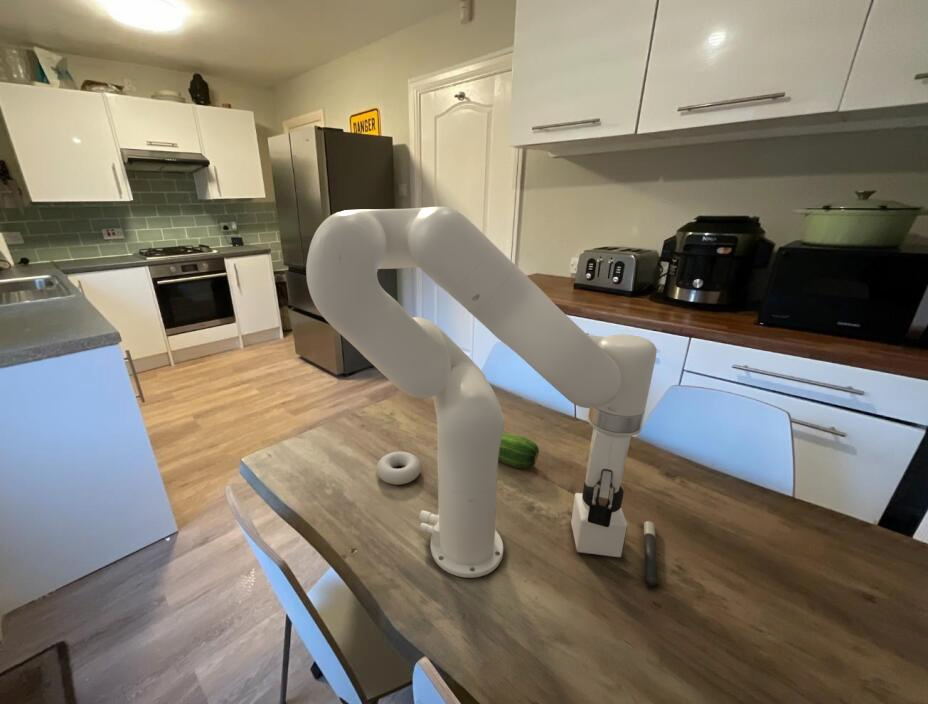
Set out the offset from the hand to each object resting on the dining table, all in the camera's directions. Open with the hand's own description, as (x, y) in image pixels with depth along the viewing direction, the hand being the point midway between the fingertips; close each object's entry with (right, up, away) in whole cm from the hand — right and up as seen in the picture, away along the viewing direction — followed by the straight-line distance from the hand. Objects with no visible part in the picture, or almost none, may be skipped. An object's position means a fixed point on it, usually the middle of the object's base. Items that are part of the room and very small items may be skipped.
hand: (600, 504), depth 69 cm
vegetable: (-12, +2, +28) cm, 30 cm away
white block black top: (0, -7, +3) cm, 8 cm away
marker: (+8, -8, 0) cm, 11 cm away
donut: (-35, -1, +23) cm, 42 cm away
